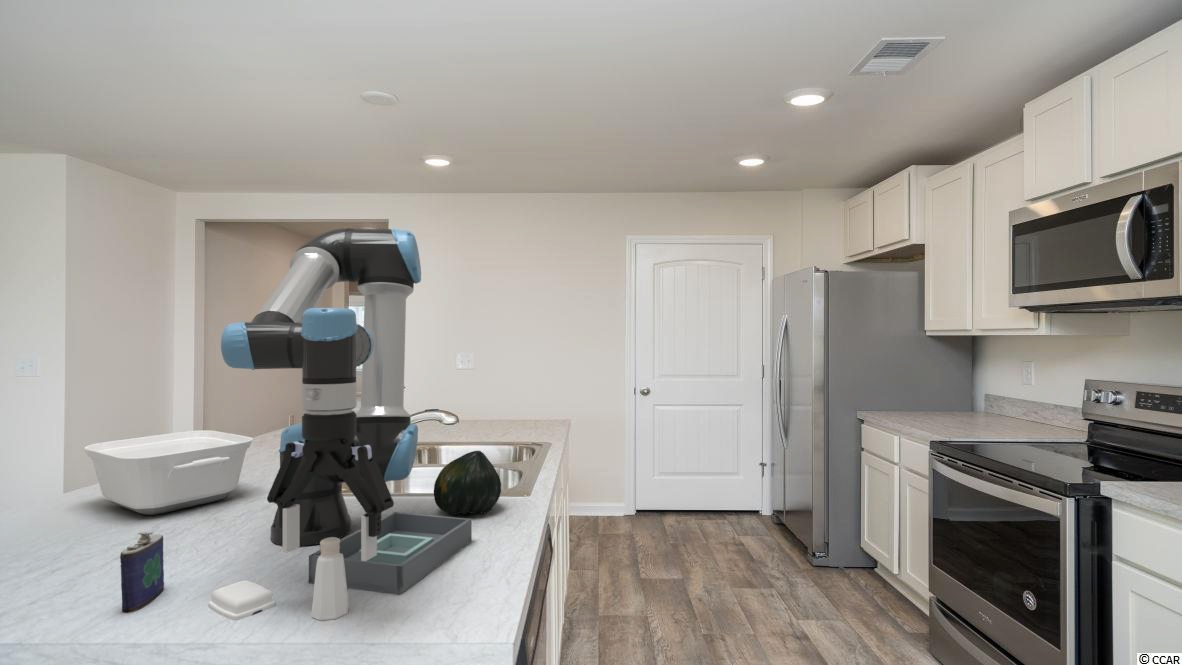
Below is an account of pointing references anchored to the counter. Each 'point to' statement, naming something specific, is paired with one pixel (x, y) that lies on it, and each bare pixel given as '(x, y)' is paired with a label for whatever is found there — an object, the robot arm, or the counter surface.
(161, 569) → the flask
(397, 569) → the bin
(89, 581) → the counter surface
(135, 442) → the white plastic tub
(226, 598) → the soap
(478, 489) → the squash
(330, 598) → the salt shaker
